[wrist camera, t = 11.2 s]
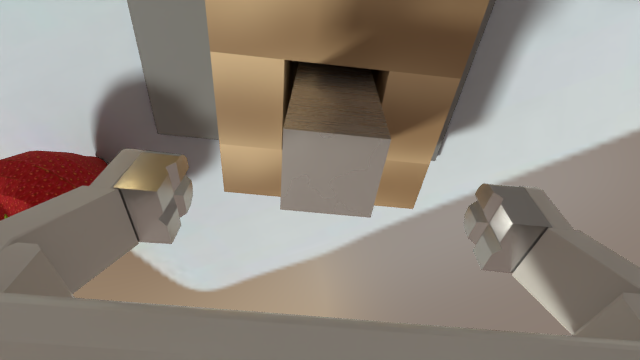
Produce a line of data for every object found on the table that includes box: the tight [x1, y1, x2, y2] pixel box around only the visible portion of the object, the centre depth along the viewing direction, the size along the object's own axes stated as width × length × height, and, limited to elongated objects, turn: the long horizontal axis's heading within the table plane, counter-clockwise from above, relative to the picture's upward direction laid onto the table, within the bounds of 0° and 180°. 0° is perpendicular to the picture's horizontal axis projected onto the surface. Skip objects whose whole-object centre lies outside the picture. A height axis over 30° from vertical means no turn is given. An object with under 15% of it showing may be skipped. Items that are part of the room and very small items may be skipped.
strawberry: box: [0, 151, 108, 221], centre depth 19 cm, size 6×8×10 cm
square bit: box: [280, 61, 391, 217], centre depth 14 cm, size 3×3×9 cm
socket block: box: [205, 0, 490, 209], centre depth 16 cm, size 10×10×5 cm
